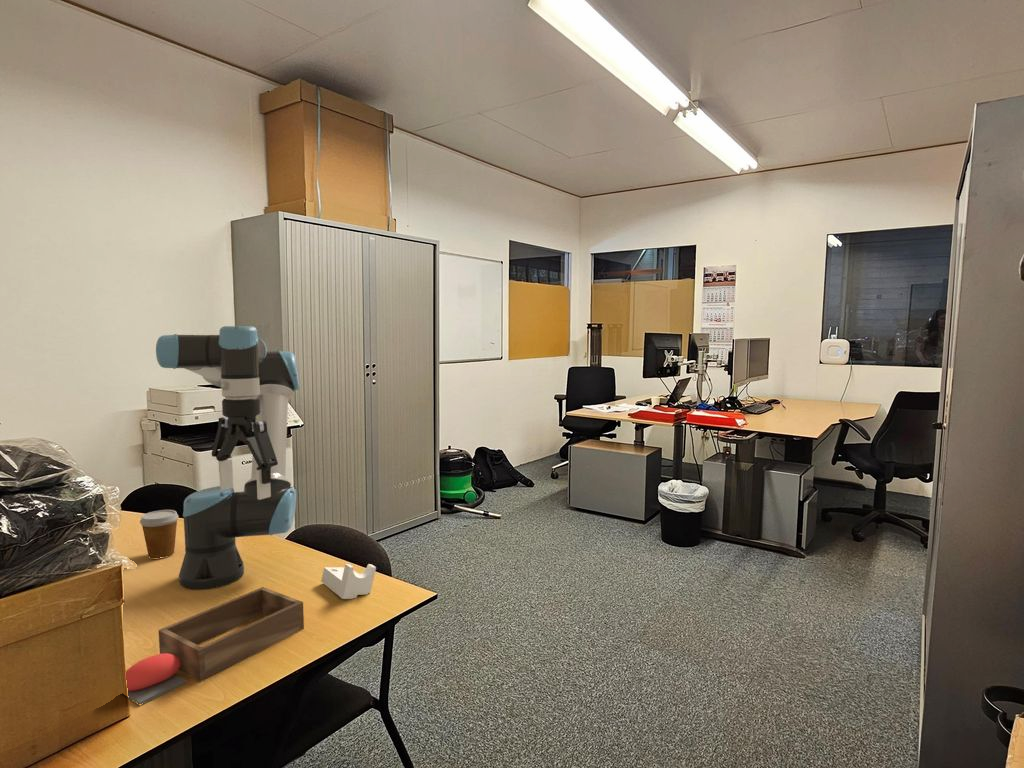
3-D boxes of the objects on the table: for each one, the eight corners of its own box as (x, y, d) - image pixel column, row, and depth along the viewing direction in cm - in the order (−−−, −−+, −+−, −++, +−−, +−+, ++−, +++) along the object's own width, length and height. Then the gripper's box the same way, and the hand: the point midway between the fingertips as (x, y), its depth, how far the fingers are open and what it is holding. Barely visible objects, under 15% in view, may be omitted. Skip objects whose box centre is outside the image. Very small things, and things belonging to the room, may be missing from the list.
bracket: (369, 598, 145) (376, 567, 146) (342, 599, 141) (349, 567, 141) (346, 580, 155) (352, 552, 156) (321, 581, 150) (327, 551, 151)
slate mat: (117, 690, 106) (116, 687, 106) (163, 669, 113) (162, 666, 113) (139, 705, 102) (139, 702, 102) (186, 682, 108) (186, 679, 108)
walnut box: (160, 659, 116) (158, 630, 116) (263, 612, 135) (262, 586, 135) (200, 681, 109) (198, 650, 108) (303, 628, 128) (303, 602, 127)
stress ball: (177, 693, 106) (187, 655, 109) (120, 692, 101) (133, 652, 104) (170, 690, 110) (181, 653, 113) (115, 689, 105) (127, 650, 108)
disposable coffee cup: (187, 553, 171) (185, 512, 170) (152, 564, 163) (150, 521, 162) (169, 546, 176) (167, 507, 175) (135, 557, 168) (132, 516, 167)
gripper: (191, 395, 131) (196, 488, 133) (261, 403, 118) (265, 506, 120) (223, 392, 138) (227, 481, 140) (293, 399, 124) (296, 497, 126)
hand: (244, 493), depth 130 cm, fingers open, 13 cm apart
